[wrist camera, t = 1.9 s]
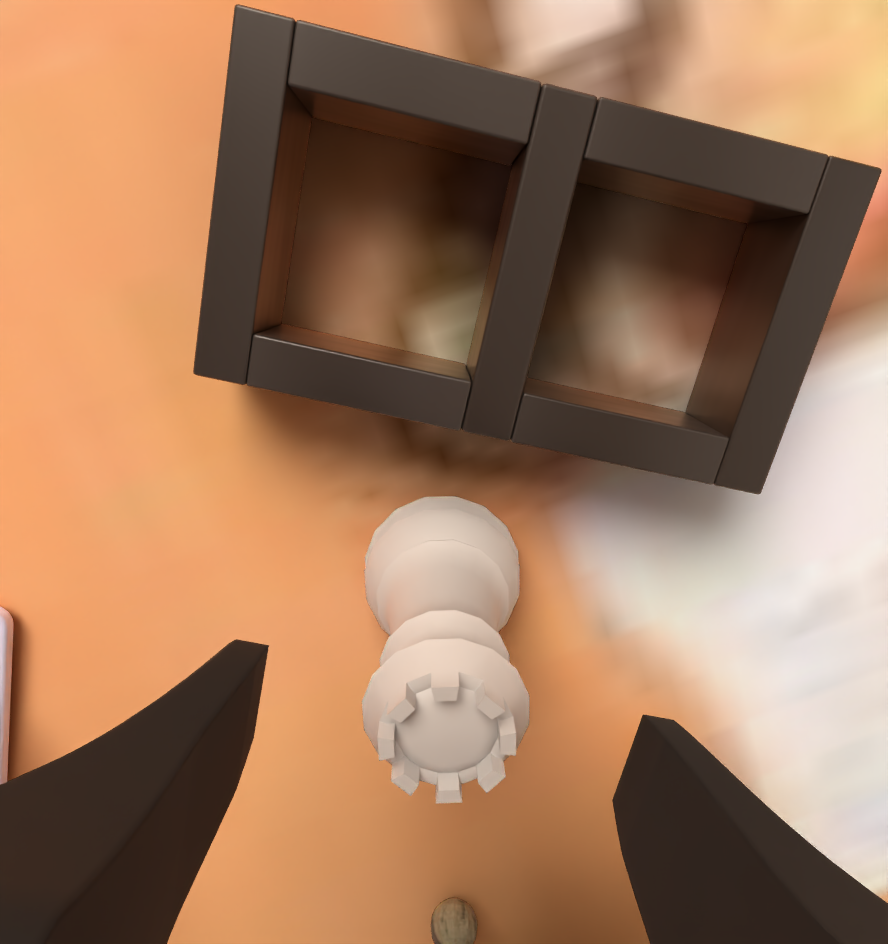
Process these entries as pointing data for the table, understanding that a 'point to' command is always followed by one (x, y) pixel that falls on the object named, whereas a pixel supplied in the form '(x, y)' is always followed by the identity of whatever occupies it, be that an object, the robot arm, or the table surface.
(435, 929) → the tabletop clock
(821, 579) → the table surface
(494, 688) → the rook chess piece
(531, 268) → the rack
